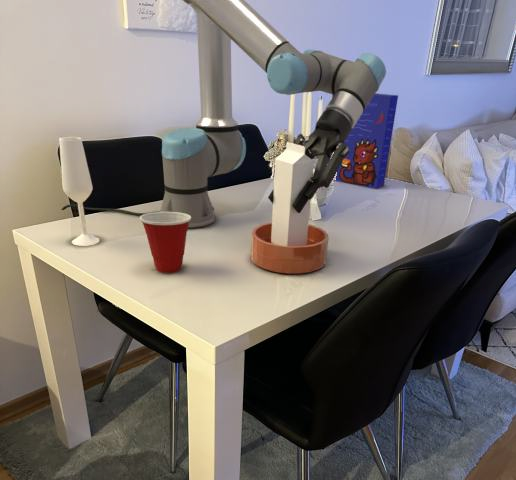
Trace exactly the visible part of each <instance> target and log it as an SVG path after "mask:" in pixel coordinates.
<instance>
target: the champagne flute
mask: <svg viewBox="0 0 516 480" xmlns="http://www.w3.org/2000/svg"><path fill="white" fill-rule="evenodd" d="M58 141H59V155H60V156H59V157H60V168H61V169H60V170H61V183H62V191H63V193H64V194H66V196H67V197H68V198H69V199H71V200H72V201H73V202H76V203H77V205H78V208H77V209H78V215H79V221H80V227H81V234H80V235H79V236H77V237H76V238H74V239H73V240H72V241H71V244H72V245H74V246H80V247H85V246H93V245H97V244H98V243H100V238H98V237H96V236H94V235H92V234H90V233H88V229H87V222H86V216H85V215H86V214H85V209H84V208H83V207H84V202H86V200H87V199H88V198H89V197H90V196H91V194H92V191H93V189H94V187H93V183H92V178H91V173H90V170H89V166H88V161H87V157H86V152H85V148H84V145H83V140H82V138H81V137H78V136H63V137H59V139H58Z"/></svg>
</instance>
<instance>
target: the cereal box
mask: <svg viewBox="0 0 516 480" xmlns="http://www.w3.org/2000/svg"><path fill="white" fill-rule="evenodd" d="M331 95H332V94H331ZM333 96H334V95H332V96H331V99H332V98H333ZM398 99H399V95H398V94H387V93H377V92H376V93H375V94H374V96H373V97H372V99H371V100H370V102H369V103H368V105H367V106H366V108H365V110H364V111H363V113H362V115H361V116H360V118H359V119H358V121H357V123H356V124H355V126H354V127H353V128H352V130H351V132H350V134H349V135H348V137H347V139H346V140H345V142H344V143H346V145H347V147H348V149H349V151H350V152H349V154H348V155H347V156H346V157H345V158H344V159H343V161H342V163H341V165H340V167H339V168H338V170H337V176H336V181H335V182H340V183H346V184H351V185H355V186H360V187H365V188H369V189H375V190H377V189H380V188H383V187H384V186H385V181H386V176H387V175H386V174H387V168H388V162H389V156H390V149H391V144H392V137H393V130H394V124H395V119H396V118H395V117H396V114H397V113H396V112H397V106H398Z"/></svg>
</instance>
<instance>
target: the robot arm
mask: <svg viewBox="0 0 516 480" xmlns="http://www.w3.org/2000/svg"><path fill="white" fill-rule="evenodd" d="M182 1H183V2H184V3H185V4H187V5H189V6H190V7H191V9H192V10H193V11H194V12H195V14H196V15H195V16H196V33H197V34H196V35H197V55H198V56H197V58H198V76H199V97H200V101H199V102H200V118H199V119H198V120H197V121H196V123H195V127H186V128H178V129H173V130H170V131H168V132H166V133H165V134H164V135H163V137H162V139H161V156H162V169H163V183H164V195H163V199H162V203H161V207H160V210H156V211H148V212H134V211H129V210H126V209H118V208H105V207H104V208H102V207H101V208H99V207H86V206H83V208H84V211H90V212H91V211H95V212H116V213H117V212H118V213H123V214H129V215H132V216H139V217H140V216H142V215H143V214H148V213H153V212H179V213H185V214H188V215H190V216H191V220H190V221H189V225H188V229H197V228H203V227H207V226H210V225H211V224H213V223H214V222H215V208H214V207H213V204H212V201H211V199H210V196H209V192H208V178H212V177H214V176H218V175H223V174H224V175H225V174H228V173H230V172H232V171H234V170H237V169H238V168H240V166H241V165H242V163H244V160H245V157H246V152H247V145H246V139H245V137H243V134H242V132H240V130H239V123H238V122H237V121H236V120H235V118H234V116H233V94H232V93H233V91H232V89H233V87H232V85H233V84H232V80H233V79H232V42H233V43H234V44H235V45H237V46H238V48H240V49H241V51H242V52H243V53H245V54H246V55H247V56H248V57H249V58H250V59H251V60H252V61H253V62H254V63H255V64H256V65H257V66H259V68H261V69H262V70H263V72H265V73H266V77H267V78H266V79H267V81H268V84H269V87H270V88H271V89H272V90H273V91H274V92H276V94H281V95H286V96H290V95H296V94H302V93H312V92H323V93H325V94H330V95H334V96H333V98H332V97H331V99H330V101H329V102H328V104H327V105H326V107H325V110H324V111H323V112H322V113H321V115H320V116H319V118H318V119H317V121H316V123H315V128H314V130H313V132H311V133H310V134H309V135H306V136H305V135H303V133H299V134H298V135H297V137H296V140H295V142H294V143H293V144H297V145H301V146H304V147H305V155H306V156H308V157H309V158H310V159H312V160H313V159H314V158H316V157H318V158H317V162H316V165H315V168H314V171H313V177H312V178H311V180H312V182H311V181H309V180H308V181H307V183H306V184H305V186H304V188H303V189H302V191H301V192H300V194H299V195H298V197H297V198H296V200H295V202H294V203H293V205H292V206H293V207H294V209H295V210H296V211H297V213H300V212H301V211H302V209H303V208H304V206H305V205H306V203H307V201H308V200H311V201H312V199H313V198H314V196H315V194H316V193H317V191H318V190H319V189H321V188H323V187H324V188H325V189H328V188H329V187H330V185H332V184H331V183H332V181H334V180H333V178H334V176H335V174H336V172H337V170H338V168H339V167H340V165H341V163H342V161H343V159H344V158H345V157H346V156H347V155H348V154H349V152H350V151H349V149H348V147H347V145H346V143H344V142H345V140H346V139H347V137H348V135H349V134H350V132H351V130H352V128H353V127H354V126H355V124H356V123H357V121H358V119H359V118H360V116H361V115H362V113H363V111H364V110H365V108H366V106H367V105H368V103H369V102H370V100H371V99H372V97H373V96H374V94H375V93H377V92H378V91H379V89H380V87H381V85H382V83H383V81H384V80H385V78H386V74H387V68H386V64H385V63H384V62H383V60H382V59H381V58H380V56H378V55H376V54H374V53H372V52H366V53H364V52H363V53H361V54H360V55H358V57H357V58H356V59H355V61H353V60H349V59H344V58H341V57H338V56H334V55H333V54H329V53H326V52H324V51H322V50H315V49H311V48H309V49H308V48H307V49H306V50H304V51H303V52H300V51H299V50H298V48H296V47H295V46H294V45H293V44H291V43H290V41H288V40H287V38H286V37H285V36H283V35H282V34H281V33H280V32H279V31H278V30H277V29H276V28H275V27H274V26H273V25H271V24H270V22H268V21H267V20H266V19H265V18H264V17H263V16H262V15H261V14H260V13H259V12H258V11H257V10H255V9H254V8H253V7H252V6H251V4H249V3H248V2H247V1H246V0H182ZM333 152H334V154H333V156H332V158H331V155H332V153H333ZM330 158H331V159H330ZM327 164H328V165H327ZM273 195H274V188H273V189H272V190H271V192H270V193H269V195H268V197H267V198H268V200H269V201H270V203H272V205H273ZM68 208H77V209H78V204H66V205H64V206H62V208H61V209H60V210H61V211H64V210H66V209H68Z"/></svg>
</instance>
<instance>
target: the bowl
mask: <svg viewBox="0 0 516 480" xmlns="http://www.w3.org/2000/svg"><path fill="white" fill-rule="evenodd" d="M271 233H272V222H266V223H263V224H260V225H258V226H255V228H253V229H252V230H251V246H250V247H251V248H250V259H251V261H252V263H253V264H255V265H256V267H257V266H258V267H259V268H261V269H264V270H267V271H270V272H273V273H274V272H275V273H278V274H287V275H288V274H289V275H290V274H291V275H292V274H293V275H294V274H295V275H297V274H307V273H312V272H315V271H318V270H320V269H322V268H323V267H324V266H325V265H326V263H327V256H328V248H329V240H330V239H329V233H328V232H327V231H326V230H324V229H323V228H321V227H319V226H316V225H312V224H310V223H308V234H307V245H306V246H283V245H277V244H273V243H271Z"/></svg>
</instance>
